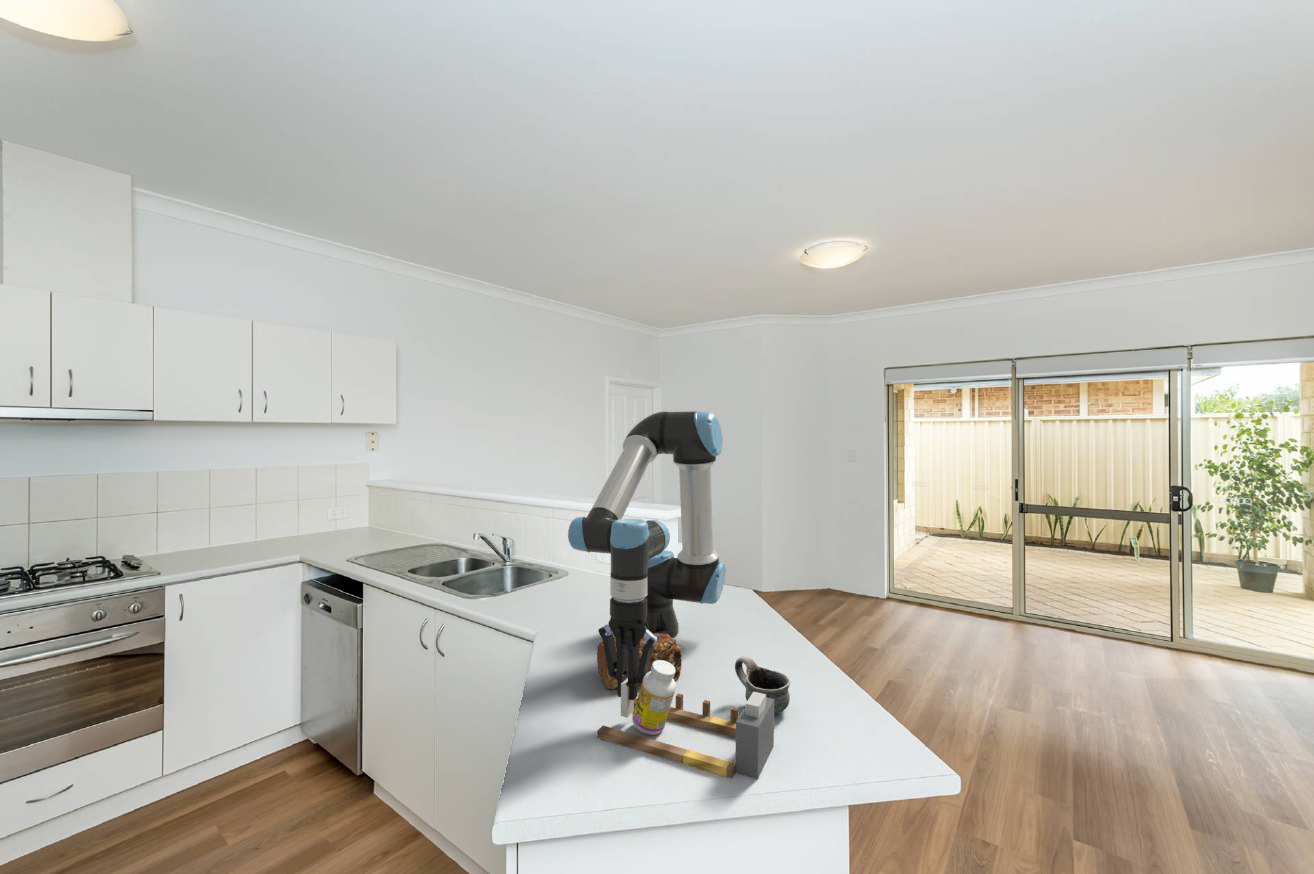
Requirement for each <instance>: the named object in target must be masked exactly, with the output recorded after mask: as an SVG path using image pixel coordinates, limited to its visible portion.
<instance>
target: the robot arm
mask: <svg viewBox="0 0 1314 874" xmlns="http://www.w3.org/2000/svg"><path fill="white" fill-rule="evenodd" d="M622 449H623V450H622V452H621V454H620V455H619V457H618V460H617V461H616V463H615V465H614V467H613V469H612V471H611V473H610V474H609V476H608V478H607V480H606V481H605V483H604V486H603V487H602V489H601V490H600V493H599V494H598V496H597V498H596V500H595V502H594V503H593V505H592V507H591V509H590V511H589V512H588V514H587V516H581V517H580V516H579V517H575V518H574V519H572V521H571V522H570V524H569V526H568V531H567V538H568V540H567V541H568V543H569V545H570V547H571V548H572V549H573V550H576V551H581V552H585V553H599V554H610V576H609V577H610V578H609V579H610V585H609V586H610V587H609V588H610V589H609V590H610V593H609V595H610V596H611V598H610V599H609V616H610V619H609V621H608V624H605V625H604V626H602V627H600V628H598V634H599V636H600V637H601V641H603V645H604V651H605V656H606V661H607V667H608V672H609V676H610V677H614V678H616V679H617V681H618V687H617V697H619V698H620V716H621V717H624V718H629V717H630V715H632V714H633V713H634V699H635V698H638V687H639V686H638V684H640V683H641V682H642V681H643V678H644V676H645V675H646V673H648V669H649V665H650V661H651V657H652V653H653V649H654V645H655V644H656V643H657V641H658V640H659V636H658V635H653V634H655V633H657V634H662V633H667V634H668V635H669V636H670V637H671V638H673V639H674V638H675V637H677V636H678V634H679V622H678V621H679V620H678V619H677V615H676V611H675V610H674V609H675V608H674V600H676V601H682V602H683V601H684V602H690V603H697V604H702V605H703V604H710V605H713V604H716V603H717V602H718V601H719V599H720V598H721V596H722V593H723V590H724V585H725V580H726V571H727V570H726V569H727V567H726V564H725V563H724V562H723V561H720V559H719V553H718V552H717V551H716V550H715V549H714V545H713V544H714V542H713V538H714V537H713V513H712V512H713V510H712V509H713V507H712V505H713V503H712V501H713V500H712V475H711V473H712V472H711V470H712V468H711V467H712V466H713V465H714V464H715V463H716V462H717V457H718V456H720V455H721V453H722V450H723V434H722V428H721V424H720V422H719V418H718V417H717V416H716V415H715V413H713V412H709V411H708V412H707V411H700V410H698V411H697V410H695V411H659V412H658V411H657V412H655V413H653V414H650V415H648V416H647V417H644V419H642V420H640V421H639V422H638V423H637V424H636V425H634V426H633V428H632V429H631V430H630V431H629V433H628V434H627V435H626V437H625V439H623V443H622ZM662 454H665V455H672V456H673V457H672V458H673V459H672V461H673V463H674V465H676V467H678V470H679V493H680V496H679V497H680V521H681V522H680V523H681V545H682V547H681V548H682V549H681V550H680V551H679V553H677V555H676V557H675V554H674V552H673V551H672V550H671V551H670V550H665V549H667V547H668V545H669V544H670V539H671V535H670V531H669V528H668V527H667V525H666V524H664V522H661V521H660V520H657V519H651V520H650V519H649V520H644V519H640V518H624V515H625V513H626V511H627V509H628V508H629V505H630V502H631V501H632V499H633V496H634V494H635V493H636V490H637V489H638V486H639V485H640V482H641V480H642V478H643V476H644V474H645V471H646V470H647V467H648V466H649V464H650V463H652V462H654V461H655V460H656V458H657V456H658V455H662ZM644 636H645V640H644V643H645V646H644V648H643V652H642V656H641V660H640V664H639V647H640V641H641V640H642V638H643V637H644ZM614 637H615V638H616V646H615V641H614ZM616 648H617V651H616ZM626 677H628V678H627V679H626Z"/></svg>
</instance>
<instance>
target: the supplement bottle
mask: <svg viewBox="0 0 1314 874" xmlns="http://www.w3.org/2000/svg"><path fill="white" fill-rule="evenodd" d="M674 675H675V667H674V666H673V665H672V664H671V663H669V662H667V661H663V660H657V661H654V662H653V664H652V667H651V671H650V672H648V673H646V675H645V676H644V678H643V681H642V685H641V686H640V689H639V691H638V692H639V693H638V694H637V702H636V706H635V709H634V712H633V713H632V717H631V719H632V723H633V725H634V727H635V728H636V729H637V730H638V731H639V732H641V733H643V734H645V735H652V736H654V735H658V734H660V733H662V732H663V730H664V729H665V726H666V723H667V720H668V719H667V717H668V713H669V710H670V707H672V706H671V705H672V702H673V699H674V695H675V691H676V688H677V685H676V681H675V680H674V679H673V678H674Z"/></svg>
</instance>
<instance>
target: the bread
mask: <svg viewBox="0 0 1314 874" xmlns="http://www.w3.org/2000/svg"><path fill="white" fill-rule="evenodd" d="M653 635H658V636H659V640H658V641H657V643H656V644H655V645H654V649H653V653H652V657H651V661H650V665H649V669H648V672H650V671H651V667H652V664H653V662H654V661H657V660H663V661H667V662H669V663H671V664H672V665H673V666H674V667H675V675H674V678H673V679H674V681H675V680H678V679H679V678H680V677H681V671H682V656H683V655H682V651H681V650H682V648H681V645H680V644H678V643H677V639H674V637H673V638H671V637H670V636H669V635H668V634H667V633H662V634H657V633H655V634H653ZM644 640H645V636H644V637H643V638H642V640H641V641H640V647H639V664H640V660H641V656H642V652H643V648H644V646H645V643H644ZM614 641H615V646H616V638H615V636H614ZM596 647H597V649H596V650H597V651H596V660H597V661H596V662H597V673H598V676H599V677H600V680H601V683H603V685H604V687H605V688H606V690H616V688H617V689H618V681H617V679H616V678H614V677H610V676H609V672H608V667H607V661H606V656H605V651H604V645H603V640H601V641H600V642H599V643H598V644H597V646H596ZM616 651H617V648H616ZM627 678H628V677H626V679H627ZM641 685H642V682H641V683H640V684H638V687H641Z"/></svg>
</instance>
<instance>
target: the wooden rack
mask: <svg viewBox="0 0 1314 874" xmlns="http://www.w3.org/2000/svg"><path fill="white" fill-rule="evenodd" d="M637 699H638V697H636V698H635V699H634V709H635V706H636V702H637ZM738 718H739V707H735V706H732V707H731V708H730V720H726V719H723V718H718V717H715V716H714V717H713V716H711V701H710V700H707V699H705V700H703V702H702V714H699V713H695V712H691V711H688V710H684V694H681V693H677V694H676V695H675V707H672V706H670V710H669V713H668V717H667V720H670V721H674V722H679V723H682V724H686V725H689V726H692V727H697V728H701V729H703V730H708V731H710V732H711V731H712V732H716V733H719V734H722V735H727V736H731V737H734V738H736V721H737V719H738ZM596 731H597V736H596V737H597V739H600V740H603V741H605V742H609V743H613V744H616V745H619V746H623V747H627V748H629V749H633V750H635V751H639V752H642V753H646V754H648V755H652V756H655V757H659V758H661V759H666V760H669V761H673V762H676V763H679V764H683V766H688V767H691V768H694V769H697V770H701V771H704V772H707V773H711V774H713V775H718V776H721V777H723V778H729V779H733V777H734V776H735V774H736V773H735V764H734V762H731V761H728V760H726V759H721V758H718V757H715V756H712V755H708V754H705V753H701V752H698V751H694V750H691V749H686V748H683V747H680V746H677V745H673V744H669V743H666V742H662V741H659V740H655V739H652V738H648V737H644V736H641V735H638V734H634V733H632V732H627V731H625V730H624V731H623V730H620V729H617V728H614V727H610V726H607V725H602V726H600V727H599V729H597V730H596Z"/></svg>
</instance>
